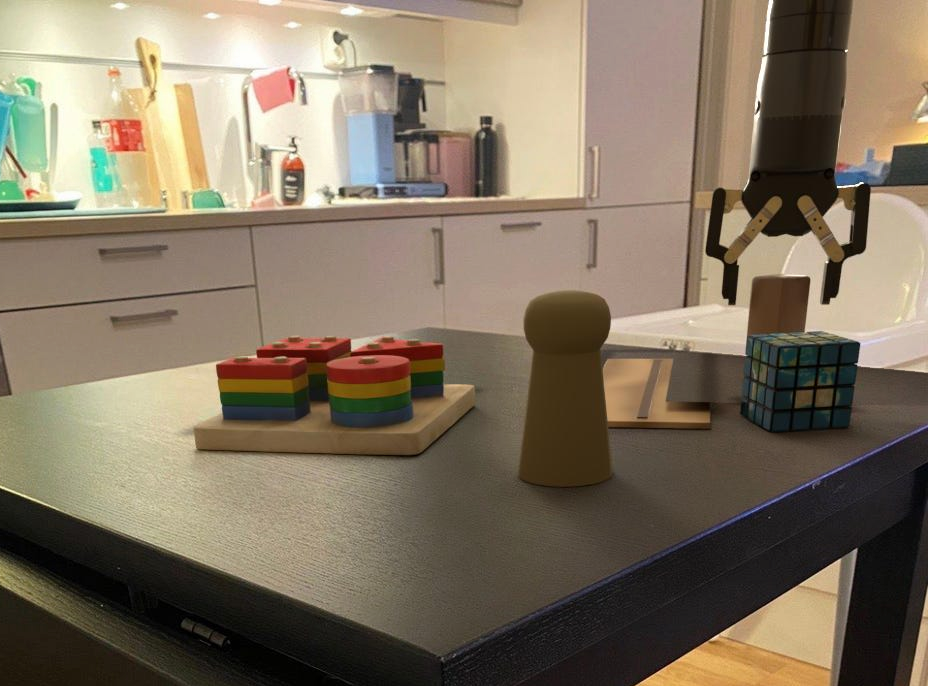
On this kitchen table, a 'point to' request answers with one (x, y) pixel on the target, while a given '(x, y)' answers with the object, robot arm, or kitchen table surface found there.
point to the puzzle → (799, 380)
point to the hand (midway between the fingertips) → (777, 304)
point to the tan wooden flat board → (647, 397)
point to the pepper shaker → (566, 391)
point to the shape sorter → (335, 398)
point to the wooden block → (778, 304)
